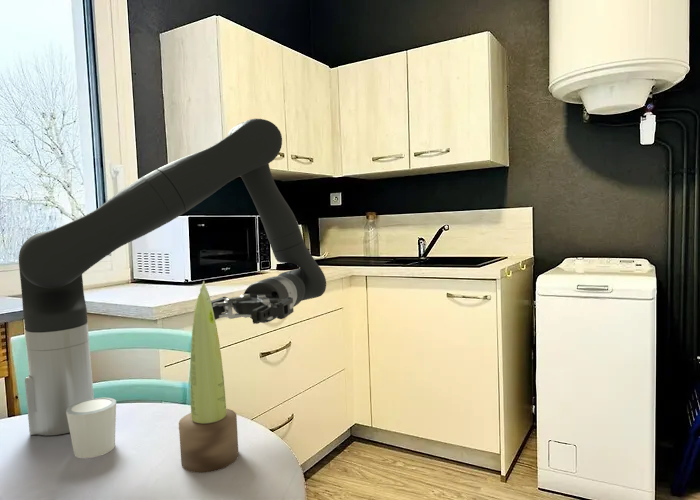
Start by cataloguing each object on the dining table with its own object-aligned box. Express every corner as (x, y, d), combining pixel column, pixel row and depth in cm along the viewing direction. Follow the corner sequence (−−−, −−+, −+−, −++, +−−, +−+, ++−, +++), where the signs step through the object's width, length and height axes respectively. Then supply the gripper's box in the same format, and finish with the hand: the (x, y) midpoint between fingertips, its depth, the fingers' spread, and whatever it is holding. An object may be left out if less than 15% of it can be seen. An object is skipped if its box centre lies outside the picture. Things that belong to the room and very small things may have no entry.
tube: (237, 416, 74) (229, 282, 72) (208, 429, 70) (200, 287, 68) (211, 408, 77) (204, 280, 76) (183, 420, 73) (174, 285, 72)
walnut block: (179, 477, 69) (176, 434, 68) (183, 450, 77) (180, 412, 76) (240, 467, 71) (237, 425, 71) (237, 442, 79) (235, 404, 78)
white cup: (99, 461, 74) (96, 415, 73) (58, 458, 75) (54, 413, 75) (129, 440, 81) (125, 397, 80) (91, 438, 82) (87, 395, 82)
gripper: (235, 278, 97) (187, 292, 81) (306, 278, 93) (270, 293, 78) (237, 317, 98) (190, 339, 82) (308, 318, 94) (272, 341, 78)
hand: (229, 316), depth 80 cm, fingers open, 8 cm apart
